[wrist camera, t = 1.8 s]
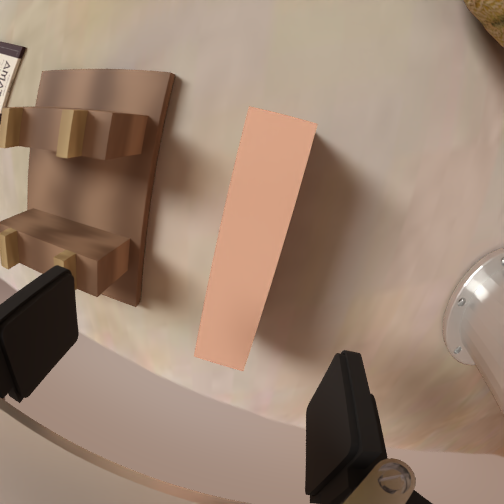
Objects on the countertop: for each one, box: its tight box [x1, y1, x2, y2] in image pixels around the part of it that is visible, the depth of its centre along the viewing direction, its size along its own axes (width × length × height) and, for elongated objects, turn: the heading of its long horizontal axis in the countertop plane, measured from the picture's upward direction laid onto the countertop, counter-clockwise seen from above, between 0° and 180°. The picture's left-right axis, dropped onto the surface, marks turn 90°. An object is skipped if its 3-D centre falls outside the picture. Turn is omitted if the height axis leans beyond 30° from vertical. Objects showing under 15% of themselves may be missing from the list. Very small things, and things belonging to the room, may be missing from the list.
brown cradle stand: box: [0, 69, 175, 307], centre depth 21 cm, size 14×20×8 cm
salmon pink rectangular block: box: [194, 106, 317, 371], centre depth 21 cm, size 4×16×7 cm, turn 166°
